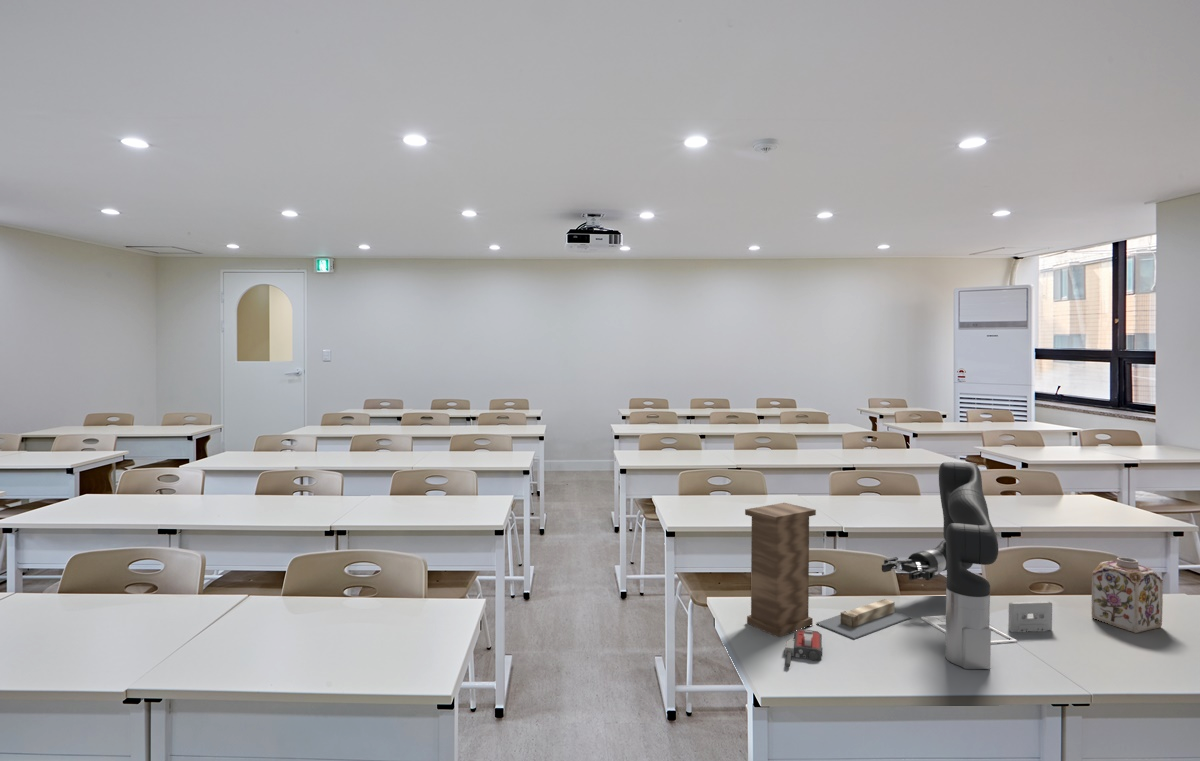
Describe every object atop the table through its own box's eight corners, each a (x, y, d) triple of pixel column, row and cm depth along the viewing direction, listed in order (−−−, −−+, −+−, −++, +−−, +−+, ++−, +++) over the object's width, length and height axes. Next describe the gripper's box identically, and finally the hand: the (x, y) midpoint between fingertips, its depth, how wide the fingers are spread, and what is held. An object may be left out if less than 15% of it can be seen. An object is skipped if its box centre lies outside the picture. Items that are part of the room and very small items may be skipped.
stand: (775, 637, 170) (776, 517, 169) (744, 624, 179) (745, 509, 178) (814, 624, 179) (815, 509, 178) (783, 612, 188) (784, 502, 187)
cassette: (1048, 628, 176) (1048, 600, 176) (1053, 631, 174) (1054, 603, 174) (1006, 630, 175) (1007, 602, 175) (1011, 632, 174) (1012, 604, 173)
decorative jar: (1163, 628, 177) (1165, 562, 176) (1137, 634, 172) (1138, 567, 172) (1115, 612, 188) (1116, 551, 187) (1089, 618, 183) (1090, 555, 183)
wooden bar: (853, 628, 175) (853, 617, 175) (840, 623, 179) (840, 612, 178) (896, 612, 186) (896, 602, 186) (883, 608, 190) (883, 598, 189)
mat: (853, 639, 169) (854, 638, 169) (816, 624, 179) (816, 622, 179) (910, 618, 183) (910, 616, 183) (872, 605, 193) (872, 603, 193)
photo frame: (967, 613, 185) (1017, 639, 167) (967, 617, 185) (1017, 643, 167) (921, 616, 183) (966, 643, 165) (921, 620, 183) (966, 647, 165)
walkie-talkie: (787, 637, 171) (783, 670, 152) (787, 620, 171) (783, 652, 152) (822, 641, 169) (822, 676, 150) (822, 625, 168) (822, 657, 150)
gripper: (905, 545, 204) (874, 553, 195) (950, 556, 192) (919, 566, 183) (905, 569, 204) (874, 578, 195) (950, 581, 192) (919, 592, 184)
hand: (896, 572), depth 189 cm, fingers open, 8 cm apart
